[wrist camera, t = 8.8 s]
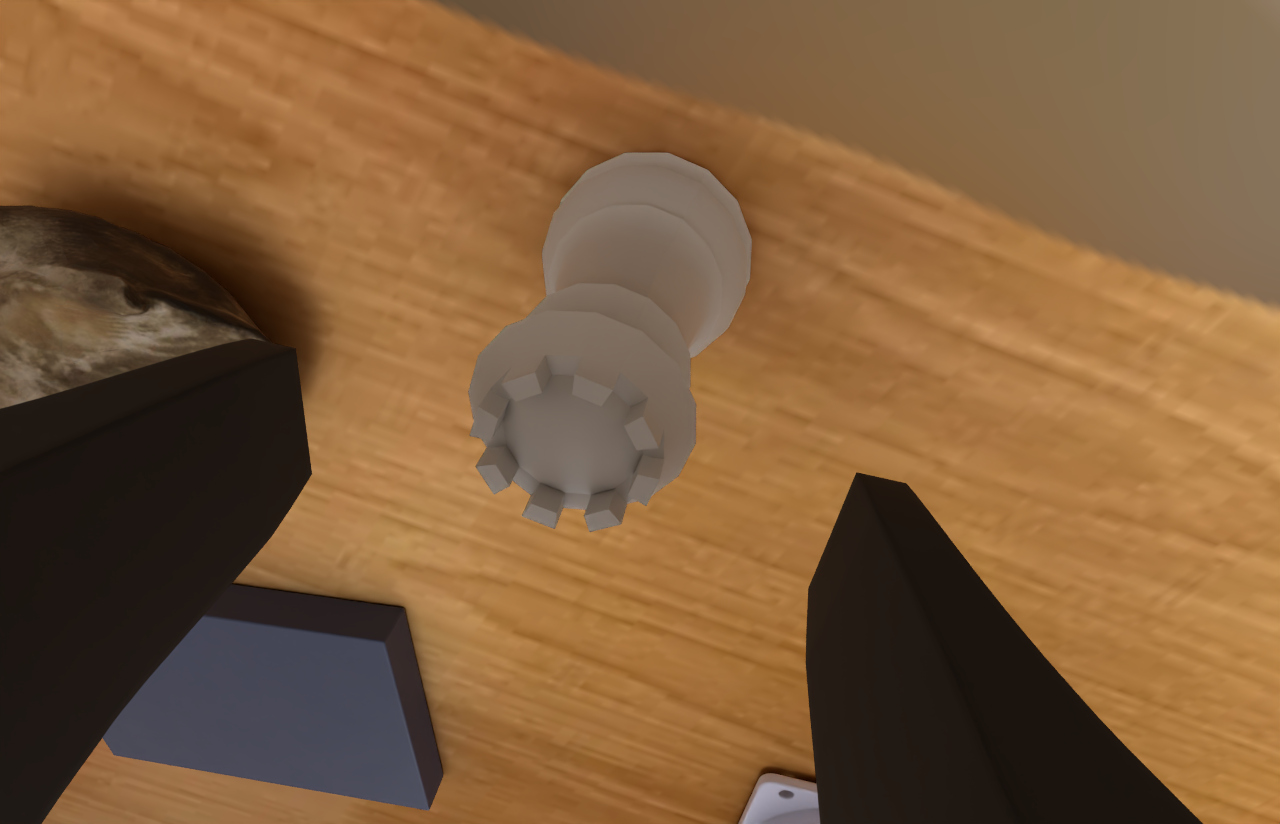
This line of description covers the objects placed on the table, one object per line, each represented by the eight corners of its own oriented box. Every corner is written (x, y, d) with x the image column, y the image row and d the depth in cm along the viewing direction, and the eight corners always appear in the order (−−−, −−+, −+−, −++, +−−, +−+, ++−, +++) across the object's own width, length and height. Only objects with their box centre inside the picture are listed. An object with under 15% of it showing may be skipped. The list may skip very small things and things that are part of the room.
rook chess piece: (618, 100, 14) (481, 217, 7) (796, 224, 15) (815, 432, 8) (522, 272, 17) (352, 479, 10) (680, 372, 17) (622, 627, 11)
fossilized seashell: (225, 206, 14) (-135, 111, 16) (-12, 505, 11) (-409, 347, 13) (373, 387, 21) (106, 305, 23) (247, 603, 18) (-43, 487, 20)
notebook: (404, 607, 24) (384, 642, 22) (444, 775, 29) (429, 811, 28) (39, 556, 25) (1, 586, 24) (140, 723, 31) (113, 755, 30)
